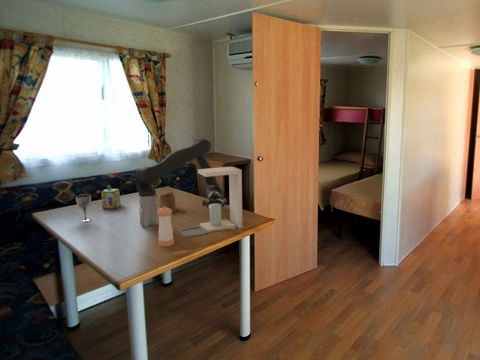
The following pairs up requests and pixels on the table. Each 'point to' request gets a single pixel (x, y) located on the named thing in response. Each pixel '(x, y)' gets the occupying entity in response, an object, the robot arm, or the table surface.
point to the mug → (167, 201)
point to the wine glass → (84, 203)
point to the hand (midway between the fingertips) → (215, 205)
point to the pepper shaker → (165, 227)
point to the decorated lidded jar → (110, 198)
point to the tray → (192, 231)
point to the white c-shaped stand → (234, 194)
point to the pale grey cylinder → (215, 214)
